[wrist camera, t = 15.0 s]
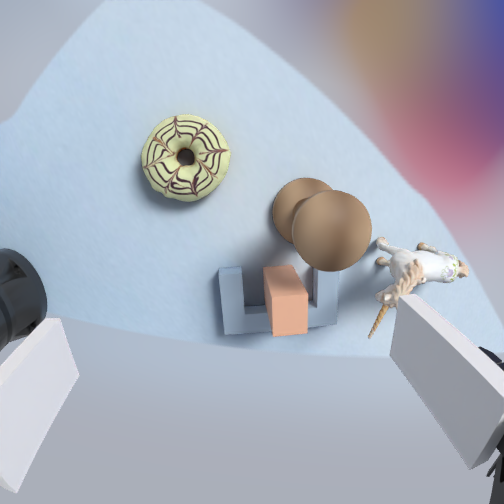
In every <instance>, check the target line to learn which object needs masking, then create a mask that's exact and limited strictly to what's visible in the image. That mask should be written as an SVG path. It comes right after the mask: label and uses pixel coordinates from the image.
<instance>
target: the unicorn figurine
mask: <svg viewBox="0 0 504 504" xmlns="http://www.w3.org/2000/svg"><path fill="white" fill-rule="evenodd" d="M376 244H377V246H378V248H379V249H380V250H383V251H386V252H388V253H389V254H391V255H392V257H391V259H390V260H388V261H387V260H386V259H385V258H383V257H380V258H378V259H377V261H376V262H377V264H378V265H386V266H388V267H389V268H390V273H391V275H392V276H393V277H394V278H395V283H394V284H391V285H389V286H388V287H387V288H386V289H385V290H382V291H380V292H378V293H376V294H375V298H376V300H377V301H379V302H380V303H383V306H382V308H381V310H380V312H379V314H378V316H377V319H376V321H375V323H374V325H373V327H372V329H371V331H370V334H369V335H368V339H370V338H371V337H372V335H373V334H374V331H375V330H376V328H377V327H378V325H379V323H380V322H381V319H382V318H383V316H384V314H385V313H386V311H387V310H388V308H389V307H390V308H392V307H396V309H397V307H398V299H399V296H403V295H409V294H410V292H411V291H412V290H413V288H414V287H415V286H416V285H420V284H421V283H422V284H424V283H425V282H430V281H436V282H442V283H450V282H453V281H454V280H455V279H456V277H457V276H459V278H462V277H464V276H465V277H468V274H469V269H468V266H467V265H465V263H464V262H461V261H459V260H458V259H457V257H456V256H454V255H451V254H448V253H446V252H441V251H437V250H436V248H435V247H432V246H430V247H428V246H427V245H426V244H424V243H420V244H419V245H418V249H419V250H420V251H414V252H411V251H409V250H407V249H404V248H398V247H394V246H388V245H389V243H388V242H387V240H385V238H384V237H380V238H378V239H377V241H376Z"/></svg>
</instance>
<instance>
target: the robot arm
mask: <svg viewBox="0 0 504 504" xmlns="http://www.w3.org/2000/svg"><path fill="white" fill-rule="evenodd" d="M46 312H47V299H46V293H45V290H44V286H43V284H42V281H41V279H40V277H39V275H38V273H37V272H36V270H35V269H34V267H33V266H32V265H31V263H30V262H29V261H28V260H27V259H26V258H25V257H24V256H22V255H21V254H19V253H18V252H16V251H14V250H11V249H0V351H1V350H2V349H3V348H4V347H5V346H6V345H7V344H8V343H9V342H11V341H14V340H17V339H20V338H22V337H26V336H28V335H29V336H28V337H27V338H26V339H25V340H24V341H23V342H22V343H21V344H20V345H19V346H18V347H17V349H15V351H14V352H13V353H12V354H11V355H10V356H9V357H8V358H7V359H6V361H5V362H4V363H3V364H2V365H1V366H0V487H2V488H5V489H7V490H10V491H12V492H15V493H17V492H18V490H19V488H20V486H21V483H22V481H23V479H24V477H25V475H26V473H27V471H28V469H29V467H30V465H31V463H32V461H33V459H34V457H35V455H36V453H37V451H38V449H39V447H40V445H41V443H42V441H43V439H44V437H45V435H46V434H47V432H48V430H49V428H50V426H51V424H52V422H53V420H54V419H55V417H56V415H57V413H58V412H59V410H60V408H61V406H62V404H63V402H64V401H65V399H66V397H67V396H68V394H69V392H70V390H71V388H72V387H73V385H74V384H75V382H76V380H77V378H78V377H79V375H80V374H79V372H78V369H77V367H76V364H75V361H74V359H73V356H72V353H71V350H70V347H69V345H68V341H67V338H66V336H65V332H64V329H63V326H62V323H61V320H60V318H45V316H46ZM390 357H391V358H392V359H393V361H394V362H395V363H396V365H397V366H398V367H399V369H400V370H401V372H402V373H403V374H404V376H405V377H406V378H407V380H408V381H409V382H410V384H411V385H412V387H413V388H414V389H415V391H416V392H417V393H418V395H419V396H420V398H421V399H422V401H423V402H424V404H425V405H426V406H427V408H428V409H429V411H430V412H431V413H432V415H433V416H434V418H435V419H436V421H437V422H438V423H439V425H440V426H441V428H442V429H443V431H444V432H445V434H446V435H447V437H448V438H449V439H450V441H451V442H452V444H453V446H454V447H455V449H456V450H457V451H458V453H459V454H460V456H461V458H462V459H463V461H464V462H465V464H466V465H467V467H468V468H469V470H471V469H473V468H475V467H477V466H478V465H480V464H482V463H484V462H486V461H488V459H489V458H490V456H491V455H492V453H493V452H494V450H495V449H496V448H497V449H498V450H499V452H500V453H501V454H500V455H499V457H498V458H497V459H496V461H495V462H494V464H493V466H492V467H491V468H490V469H489V471H488V473H487V476H488V477H489V476H490V475H491V473H492V472H493V471H494V469H495V468H496V470H495V475H494V476H493V477H494V482H493V488H492V494H491V499H490V503H489V504H504V363H502V360H500V359H499V358H498V357H497V356H496V355H495V354H494V353H492V352H490V351H488V350H486V349H484V348H482V347H477V346H476V345H475V344H474V343H472V342H471V341H470V340H469V339H468V338H467V337H466V336H465V335H463V334H462V333H461V332H460V331H459V330H458V329H457V328H455V327H454V326H453V325H452V324H451V323H450V322H448V321H447V320H446V319H445V318H444V317H443V316H441V315H440V314H439V313H438V312H437V311H435V310H434V309H433V308H432V307H431V306H429V305H428V304H427V303H426V302H425V301H423V300H422V299H421V298H420V297H419V296H417V295H416V294H409V295H403V296H399V299H398V307H397V314H396V320H395V327H394V333H393V339H392V345H391V350H390Z"/></svg>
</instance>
